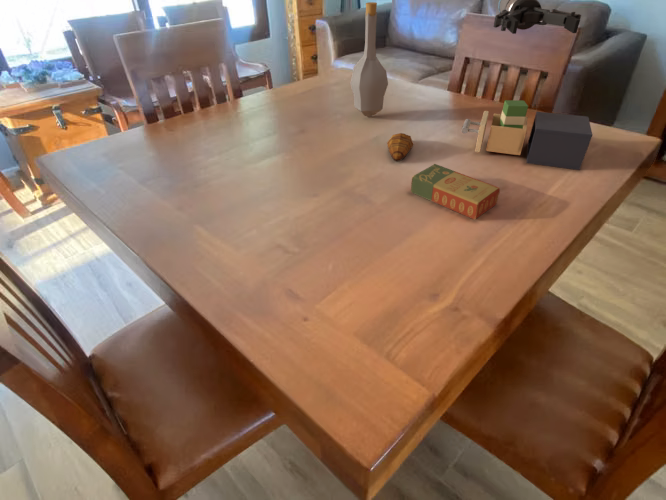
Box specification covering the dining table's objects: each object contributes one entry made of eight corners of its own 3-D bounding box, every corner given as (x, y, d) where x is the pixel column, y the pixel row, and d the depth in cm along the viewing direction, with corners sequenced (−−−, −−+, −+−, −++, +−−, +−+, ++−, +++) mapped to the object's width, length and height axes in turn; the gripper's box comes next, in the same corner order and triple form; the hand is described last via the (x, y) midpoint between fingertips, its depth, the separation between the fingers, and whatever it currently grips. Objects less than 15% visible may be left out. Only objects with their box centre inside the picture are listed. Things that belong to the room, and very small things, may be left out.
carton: (474, 221, 83) (478, 202, 81) (409, 192, 93) (410, 174, 90) (496, 204, 88) (501, 186, 85) (432, 179, 97) (434, 161, 94)
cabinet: (526, 163, 102) (535, 128, 97) (527, 144, 111) (536, 111, 105) (579, 170, 99) (592, 134, 94) (576, 150, 107) (588, 116, 102)
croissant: (411, 164, 103) (412, 145, 100) (383, 162, 104) (384, 143, 101) (414, 141, 113) (416, 123, 110) (389, 140, 115) (390, 122, 112)
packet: (514, 139, 108) (524, 100, 102) (518, 146, 105) (528, 106, 99) (495, 139, 109) (504, 100, 103) (498, 146, 105) (508, 105, 99)
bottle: (341, 116, 129) (340, 3, 111) (368, 107, 135) (371, -2, 117) (367, 126, 122) (370, 8, 104) (394, 117, 128) (402, 2, 110)
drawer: (457, 149, 107) (461, 123, 103) (463, 134, 115) (467, 108, 110) (519, 157, 103) (526, 130, 98) (521, 141, 110) (528, 115, 106)
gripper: (566, 26, 117) (596, 44, 100) (473, 27, 119) (487, 44, 103) (575, -5, 112) (608, 7, 96) (478, -4, 115) (493, 9, 98)
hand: (545, 27), depth 99 cm, fingers open, 13 cm apart
